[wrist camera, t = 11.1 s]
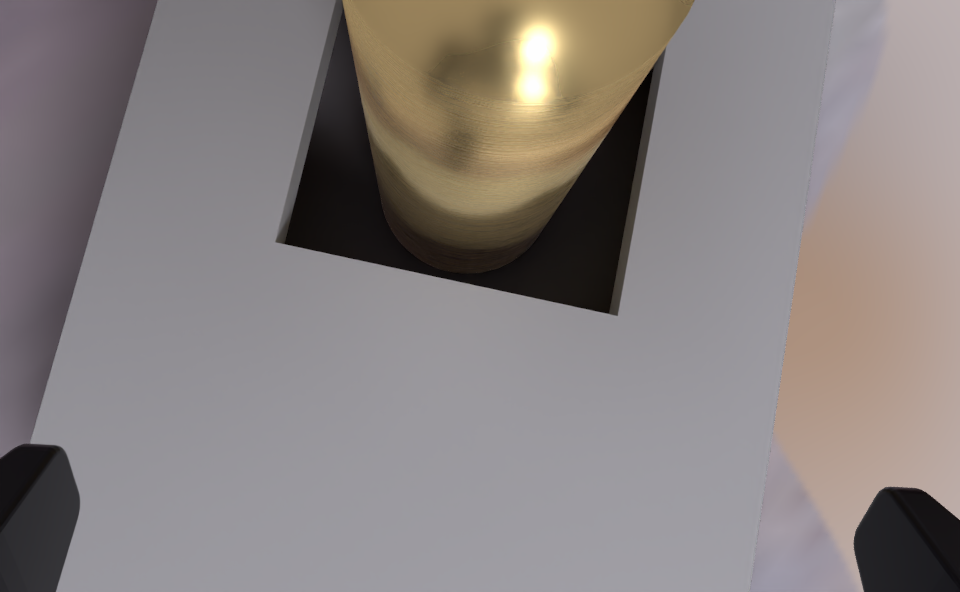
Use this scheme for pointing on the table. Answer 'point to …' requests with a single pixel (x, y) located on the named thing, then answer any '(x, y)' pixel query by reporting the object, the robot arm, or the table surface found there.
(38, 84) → the table surface
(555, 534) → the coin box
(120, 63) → the table surface
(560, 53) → the brass cylinder
